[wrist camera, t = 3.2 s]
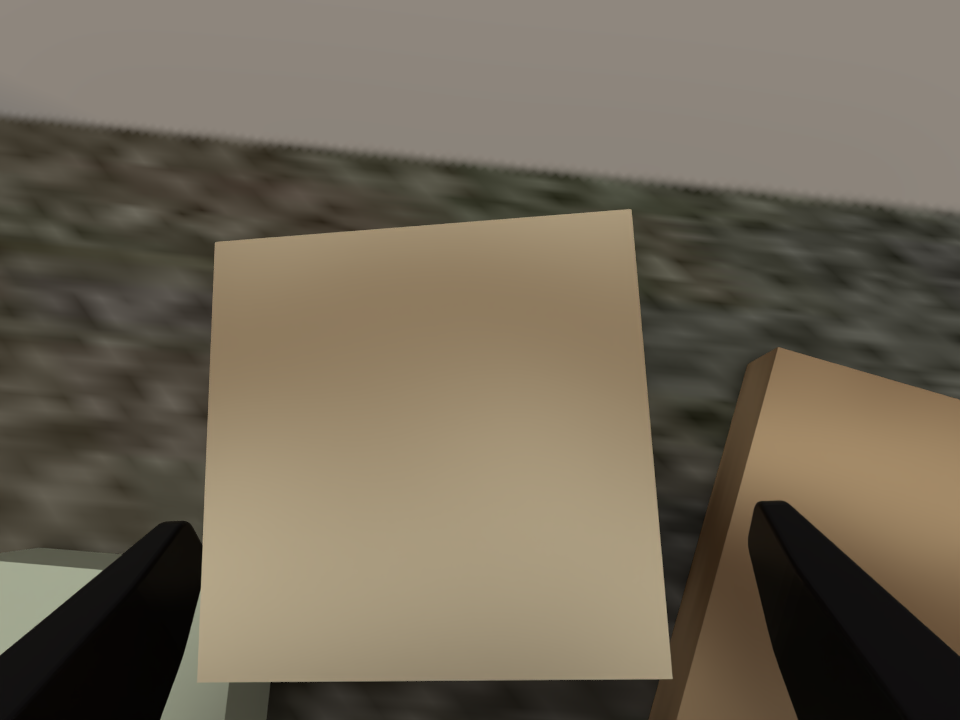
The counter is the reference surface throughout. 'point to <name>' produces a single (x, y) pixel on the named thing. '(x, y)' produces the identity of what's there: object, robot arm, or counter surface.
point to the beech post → (431, 458)
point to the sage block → (61, 573)
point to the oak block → (816, 521)
